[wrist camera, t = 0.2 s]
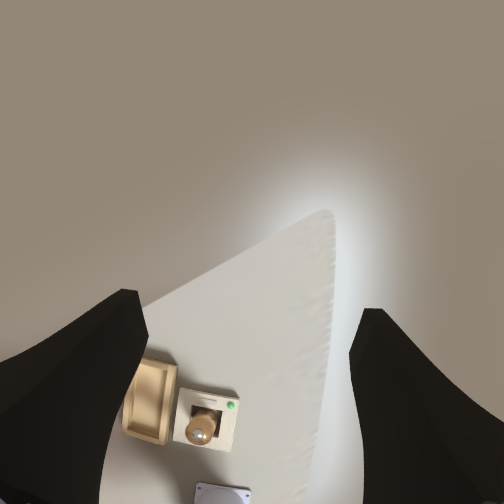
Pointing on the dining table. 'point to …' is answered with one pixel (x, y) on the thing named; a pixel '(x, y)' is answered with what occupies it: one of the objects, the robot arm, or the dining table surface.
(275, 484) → the dining table surface
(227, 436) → the white square frame
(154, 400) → the wooden trough
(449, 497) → the robot arm
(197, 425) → the battery cell
